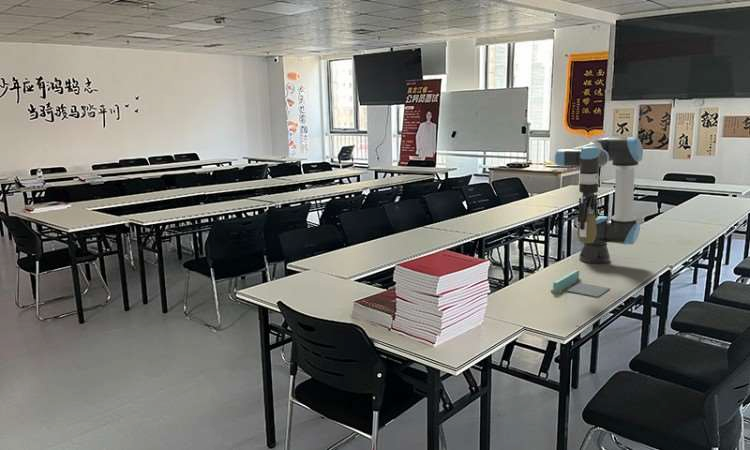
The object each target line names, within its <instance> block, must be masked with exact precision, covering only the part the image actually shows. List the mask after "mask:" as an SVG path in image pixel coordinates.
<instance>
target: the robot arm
mask: <svg viewBox="0 0 750 450" xmlns="http://www.w3.org/2000/svg"><path fill="white" fill-rule="evenodd" d="M643 156H644V152H643V144H642V142H641V140H640V138H638V137H631V136H625V137H624V136H622V137H621V136H619V137H610V136H609V137H601V138H597V139H594V140H591V141H588V142H586V143H585V144H584V145H581V146H577V147H573V148H570V149H565V148H564V149H558V150H556V152H555V155H554V162H555V163H554V164H556V166H558V167H578V168H579V181H578V182H579V185H578V186H579V187H578V191H579V192H580V193H581V194H582V196H581V197H579V198H578V213H577V220H576V221H577V223H579V222H580V235H579V236H580V237H586V231H587V222H586V218H587V213H588V208H589V207H591V209H592V210H593V214H594V215H595V216H596V229H597V235H596V238H595V240H594V242H593V243H582V248H581V251H580V253H579V260H580V261H581V262H584V263H589V264H607V263H609V262H610V261H611V255H610V251H609V249H608V243H611V244H619V245H620V244H621V245H624V246H625V245H634V244H635V243H636V242H637V240H638V238H639V234H640V229H641V224H640V222H639V221H638V222H637V217H636V216H635V215H634V200H635V199H634V197H635V195H634V194H635V171H636V170H635V169H636V167H637V166H638V165H639V162H642V160H643ZM609 162H612V166H613V167H614V168H615V179H614V180H615V182H614V184H615V185H614V186H615V187H614V188H615V189H614V215H612V216H611V217H610V218H611V219H609V217H608V215H607V216H605V215H598V194H595V193H598V192H599V178H600V175H599V170H600V168H602V167H603V166H605V165H607V164H608V163H609Z"/></svg>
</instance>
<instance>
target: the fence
mask: <svg viewBox="0 0 750 450" xmlns="http://www.w3.org/2000/svg"><path fill="white" fill-rule="evenodd" d="M581 282H582V278H580V270H579V269H574V270H573V271H571V272H569V273H568V274H566V275H564V276H562V277H561V278H559V279H557V280H555V281H553V287H552V289H551V290H550V293H553V294H559V295H560V294H562V293H563V291H564V290H565V289H567V288H569V287H570V286H572V285H574V284H576V283H581Z"/></svg>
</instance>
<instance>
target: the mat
mask: <svg viewBox="0 0 750 450" xmlns="http://www.w3.org/2000/svg"><path fill="white" fill-rule="evenodd" d="M610 290H611V288H610V287H606V286H601V285H596V284H595V285H594V284H587V283H583V282H577V283H575V285H573V286H571V287H570V288H568V289H567V290H566V291H565V292H567V293H571V294H576V295H580V296H587V297H592V298H597V299H598V298H600V297H601V296H602V295H605V293H607V292H608V291H610Z"/></svg>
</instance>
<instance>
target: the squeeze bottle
mask: <svg viewBox="0 0 750 450" xmlns="http://www.w3.org/2000/svg"><path fill="white" fill-rule="evenodd" d="M586 222H587V231H586V237H580V236H579V235H580V222H578V226H577V232H576V233H577V237H578V240H579V242H580V243H582V244H583V243H593V242H594V240H595V238H596V235H597V229H596V216H595V215H594V214H593V210H592V209H591V207H589V208H588V213H587V218H586Z"/></svg>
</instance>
